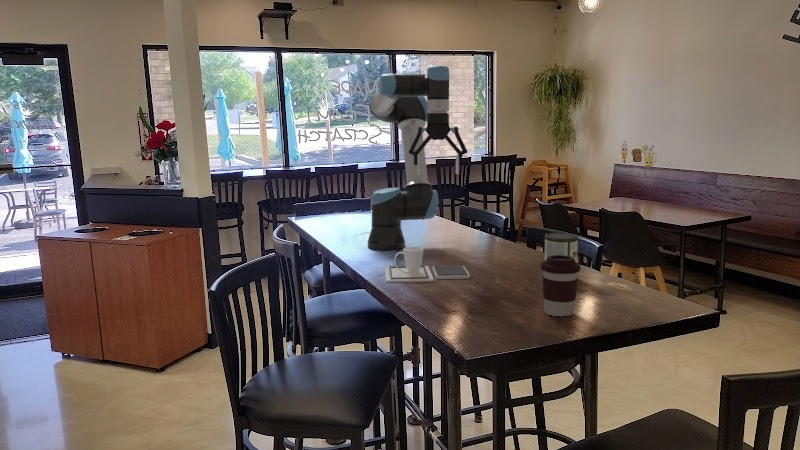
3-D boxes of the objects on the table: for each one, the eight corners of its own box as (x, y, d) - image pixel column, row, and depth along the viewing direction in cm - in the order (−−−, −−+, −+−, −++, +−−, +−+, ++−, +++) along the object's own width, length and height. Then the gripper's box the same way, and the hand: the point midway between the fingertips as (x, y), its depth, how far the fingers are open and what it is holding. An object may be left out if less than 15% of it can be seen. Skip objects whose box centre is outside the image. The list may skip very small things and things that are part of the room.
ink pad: (431, 269, 206) (431, 265, 205) (463, 268, 206) (463, 264, 206) (435, 279, 193) (435, 275, 193) (470, 278, 193) (470, 274, 193)
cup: (426, 274, 196) (426, 250, 195) (396, 276, 195) (395, 251, 193) (421, 269, 203) (421, 245, 202) (392, 270, 201) (392, 247, 200)
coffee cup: (534, 308, 163) (536, 254, 160) (570, 306, 163) (572, 253, 161) (546, 320, 153) (548, 262, 150) (584, 318, 154) (586, 261, 151)
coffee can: (545, 273, 199) (546, 231, 196) (577, 276, 195) (579, 233, 193) (541, 281, 189) (543, 237, 187) (575, 284, 186) (577, 239, 183)
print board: (384, 268, 207) (384, 265, 207) (428, 267, 208) (428, 264, 208) (386, 282, 190) (386, 279, 189) (433, 281, 190) (433, 278, 190)
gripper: (402, 112, 202) (402, 175, 206) (475, 112, 203) (475, 174, 207) (401, 112, 210) (401, 173, 214) (472, 112, 211) (471, 172, 214)
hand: (437, 174), depth 210 cm, fingers open, 13 cm apart
